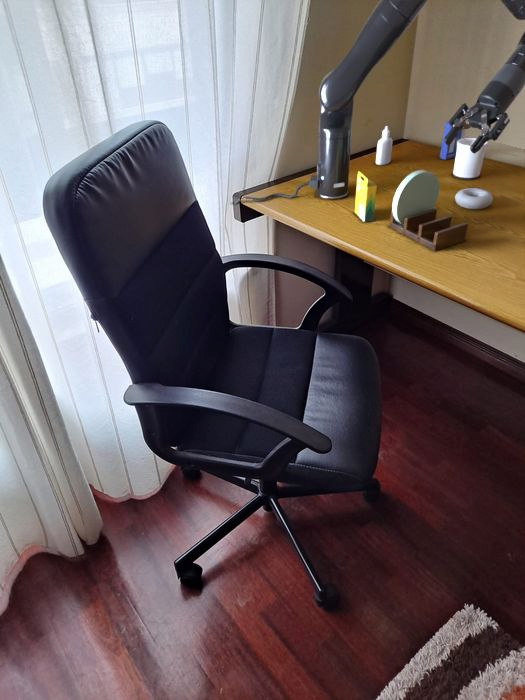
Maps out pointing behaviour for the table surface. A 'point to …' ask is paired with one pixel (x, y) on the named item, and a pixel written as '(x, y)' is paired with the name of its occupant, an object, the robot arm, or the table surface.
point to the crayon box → (365, 198)
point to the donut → (474, 198)
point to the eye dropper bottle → (384, 148)
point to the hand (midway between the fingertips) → (458, 147)
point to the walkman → (451, 149)
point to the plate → (415, 195)
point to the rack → (431, 229)
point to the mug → (468, 159)
